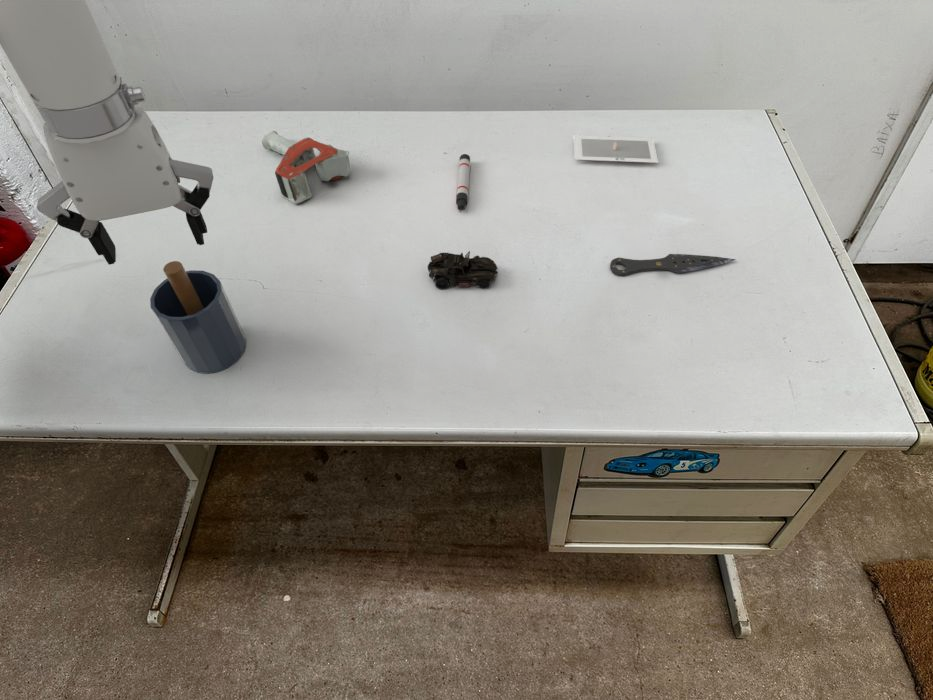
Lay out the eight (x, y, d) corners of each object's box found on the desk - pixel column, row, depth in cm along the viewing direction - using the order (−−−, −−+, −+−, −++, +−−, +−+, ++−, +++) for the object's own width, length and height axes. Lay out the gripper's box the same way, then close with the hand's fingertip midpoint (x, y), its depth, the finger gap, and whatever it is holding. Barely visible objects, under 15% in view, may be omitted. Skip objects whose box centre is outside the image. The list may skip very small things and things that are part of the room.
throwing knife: (607, 259, 96) (607, 256, 95) (731, 251, 97) (732, 248, 96) (613, 278, 93) (614, 275, 92) (741, 270, 94) (742, 267, 93)
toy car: (430, 261, 96) (429, 239, 92) (506, 264, 95) (508, 243, 92) (425, 289, 92) (424, 267, 89) (505, 293, 91) (506, 272, 88)
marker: (459, 163, 112) (459, 153, 111) (470, 163, 112) (470, 153, 111) (455, 216, 103) (454, 206, 101) (466, 216, 103) (466, 207, 101)
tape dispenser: (270, 149, 118) (248, 208, 105) (261, 123, 114) (238, 181, 101) (360, 142, 118) (350, 201, 104) (354, 116, 114) (343, 173, 100)
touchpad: (572, 140, 117) (574, 130, 115) (651, 143, 116) (654, 133, 114) (573, 164, 112) (575, 154, 110) (656, 167, 111) (659, 157, 109)
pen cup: (185, 381, 82) (151, 327, 73) (180, 335, 87) (148, 280, 78) (250, 363, 83) (224, 308, 75) (242, 319, 88) (217, 263, 80)
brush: (200, 360, 83) (155, 282, 71) (198, 339, 85) (154, 260, 74) (230, 352, 84) (191, 274, 72) (227, 331, 86) (188, 252, 74)
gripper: (180, 74, 61) (230, 211, 74) (-12, 104, 57) (77, 243, 70) (186, 112, 57) (237, 250, 70) (-22, 146, 53) (75, 286, 66)
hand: (157, 246), depth 70 cm, fingers open, 9 cm apart
